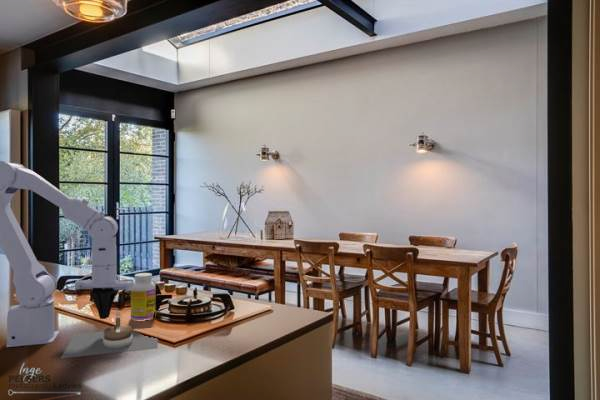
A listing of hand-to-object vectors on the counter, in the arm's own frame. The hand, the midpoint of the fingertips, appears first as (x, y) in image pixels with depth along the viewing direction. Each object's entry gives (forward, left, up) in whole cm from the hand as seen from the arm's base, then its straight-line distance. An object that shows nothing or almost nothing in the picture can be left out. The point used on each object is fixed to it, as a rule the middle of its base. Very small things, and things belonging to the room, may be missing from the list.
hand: (104, 317), depth 107 cm
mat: (+3, -6, -4) cm, 8 cm away
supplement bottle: (+9, +11, -5) cm, 15 cm away
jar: (+4, -8, -4) cm, 10 cm away
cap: (+4, -5, -2) cm, 7 cm away
